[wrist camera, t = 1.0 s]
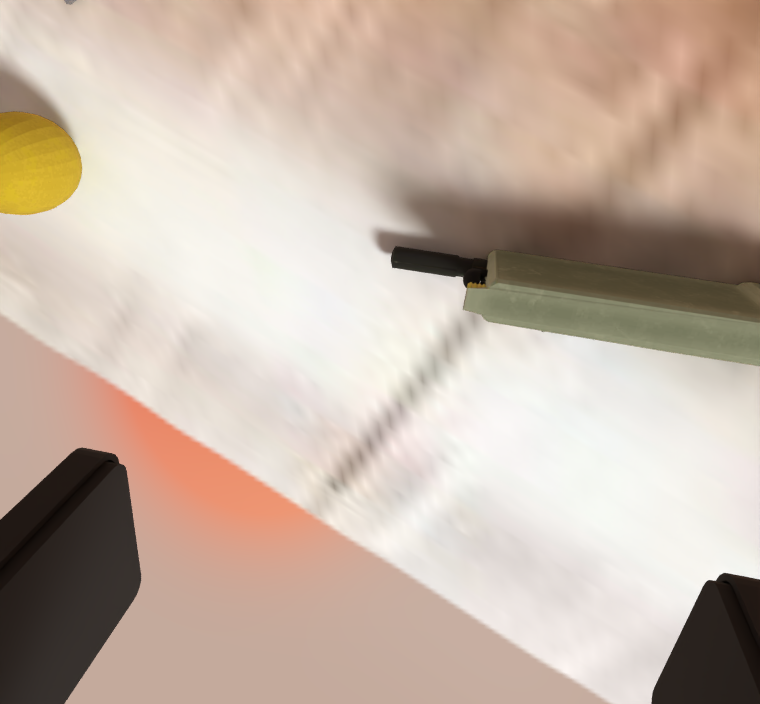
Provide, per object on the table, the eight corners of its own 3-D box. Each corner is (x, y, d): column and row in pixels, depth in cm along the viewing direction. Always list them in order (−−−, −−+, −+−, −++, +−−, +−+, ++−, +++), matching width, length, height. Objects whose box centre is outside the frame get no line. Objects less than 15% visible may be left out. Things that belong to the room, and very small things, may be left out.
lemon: (87, 99, 36) (-13, 109, 29) (120, 191, 38) (34, 222, 31) (11, 115, 37) (-102, 129, 30) (47, 203, 40) (-51, 236, 33)
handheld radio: (809, 342, 35) (391, 277, 38) (833, 289, 34) (397, 226, 37) (875, 395, 29) (373, 314, 32) (907, 333, 28) (379, 254, 31)
